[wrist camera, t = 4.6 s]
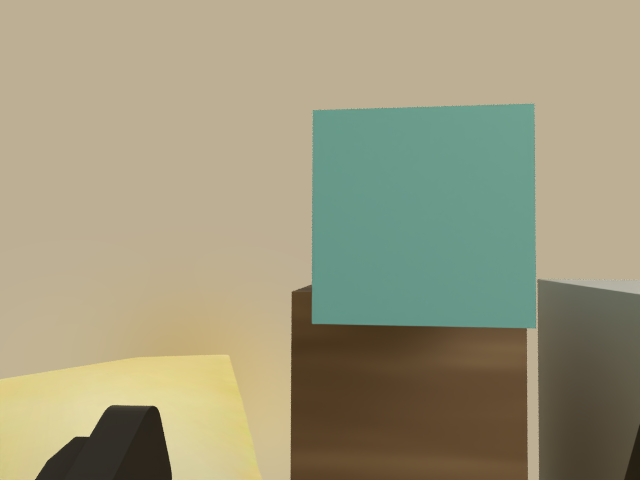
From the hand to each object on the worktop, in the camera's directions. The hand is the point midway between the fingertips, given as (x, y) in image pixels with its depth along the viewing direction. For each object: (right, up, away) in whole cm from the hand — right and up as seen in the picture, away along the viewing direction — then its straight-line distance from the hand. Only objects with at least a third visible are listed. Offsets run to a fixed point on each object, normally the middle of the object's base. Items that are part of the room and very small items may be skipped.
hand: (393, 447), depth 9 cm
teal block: (+2, +2, +14) cm, 14 cm away
